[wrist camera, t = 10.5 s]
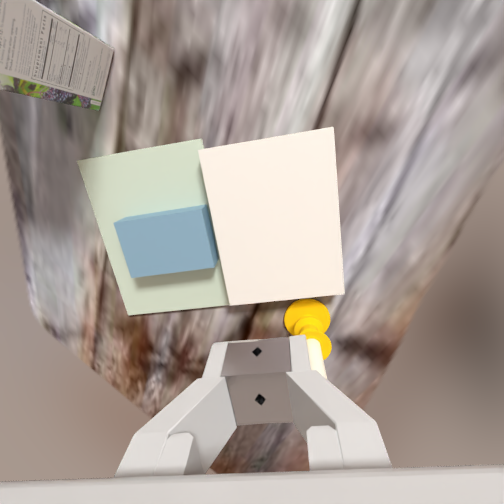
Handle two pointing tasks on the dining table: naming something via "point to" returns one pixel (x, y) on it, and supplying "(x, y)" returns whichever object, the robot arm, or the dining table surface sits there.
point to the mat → (150, 201)
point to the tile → (167, 241)
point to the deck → (276, 216)
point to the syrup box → (50, 56)
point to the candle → (311, 329)
